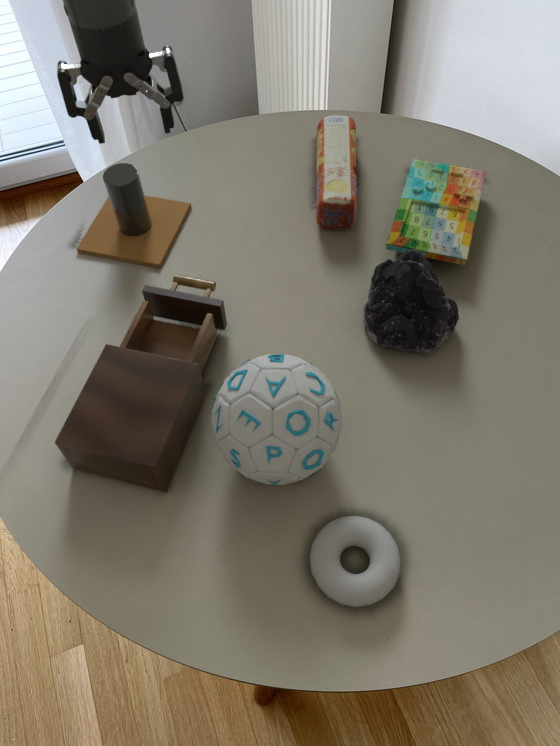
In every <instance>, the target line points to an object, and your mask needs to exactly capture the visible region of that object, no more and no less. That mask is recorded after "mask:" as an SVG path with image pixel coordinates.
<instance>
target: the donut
mask: <svg viewBox="0 0 560 746" xmlns="http://www.w3.org/2000/svg"><path fill="white" fill-rule="evenodd" d="M350 547H358V548H360V549H363V550H364V551H365V552H366V553H367V555H368V558H369V565H368V567H367V569H366V570H365V571H363V572H361V573H351V572H349V571H347V570H346V569H345V568H344V567H343V566H342V563H341V555H342V553H343V552H344V551H345V550H346V549H347V548H350ZM401 562H402V561H401V556H400V552H399V547H398V544H397V543H396V541H395V540H394V538H393V536H392V534H391V533H390V532H389V531H388V530H387V529H386V528H385V527H384V526H383V525H382V524H381V523H379V522H377V521H375V520H373V519H371V518H369V517H365V516H359V515H348V516H341V517H339V518H336V519H334V520H332V521H330V522H327V524H325V526H324V527H323V528H321V529H320V531H318V533H317V535H316V537H315V539H314V540H313V542H312V544H311V548H310V554H309V564H310V570H311V574H312V576H313V578H314V581H315V582H316V584H317V586H318V588H319V589H320V590H321V591H322V592H323V593H324V594H325V595H326V596H327V597H328V598H329V599H331V600H333V601H334V602H336V603H339V604H340V605H344V606H349V607H355V608H358V607H366V606H371V605H373V604H375V603H377V602H380V601H381V600H384V598H385V597H386V596H387V595H388V594H389V593H390V592H391V591H392V590H393V589H394V588H395V585H396V583H397V581H398V579H399V577H400V572H401Z"/></svg>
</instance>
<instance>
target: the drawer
mask: <svg viewBox="0 0 560 746" xmlns="http://www.w3.org/2000/svg"><path fill="white" fill-rule="evenodd" d="M179 286H182V287H187V288H193V289H196V290H197V289H198V290H202V291H205V292H204V295H198V294H194V293H188V292H183V291H178V290H177V289H178V287H179ZM216 288H217V282H216V281H213V280H210V279H209V280H207V279H202V278H197V277H192V276H188V275H182V274H178V273H177V274H174V275H173V278H172V285H171V287H170V288H169V289H168V288H164V287H157V286H153V285H148V284H144V286H143V288H142V289H141V293H142V297H143V299H144V300H142V302H141V304H140V306H139V308H137V309H138V310H137V312H136V314H135V315H134V318H133V320H132V321H131V323H130V325H129V327H128V329H127V331H126V333H125V335H124V337H123V339H122V341H121V343H120V345H119V347H122V348H127V349H132V350H136V351H141V352H146V353H150V354H155V355H160V356H164V357H169V358H174V359H178V360H183V361H188V362H192V363H197V364H199V368H200V372H201V374H202V373H203V370H204V368H205V365H206V364H207V360H208V358H209V356H210V354H211V351H212V349H213V346H214V344H215V341H216V338H217V337H218V336H217V331H216V330H218V331H219V330H220V331H226V329H227V326H228V320H227V314H226V308H225V302H224V300H223V299H219V298H214V297H211V294H212V292H215V291H216ZM155 317H156V318H161V319H164V320H165V319H166V320H171V321H176V322H180V323H185V324H190V325H194V326H195V325H196V326H200V328H196V327H191V326H187V325H182V324H177V323H171V322H168V321H167V322H166V321H163V320H158V319H155Z"/></svg>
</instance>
